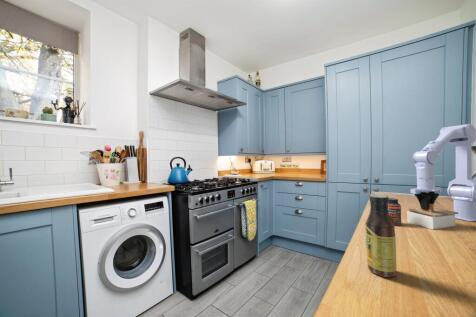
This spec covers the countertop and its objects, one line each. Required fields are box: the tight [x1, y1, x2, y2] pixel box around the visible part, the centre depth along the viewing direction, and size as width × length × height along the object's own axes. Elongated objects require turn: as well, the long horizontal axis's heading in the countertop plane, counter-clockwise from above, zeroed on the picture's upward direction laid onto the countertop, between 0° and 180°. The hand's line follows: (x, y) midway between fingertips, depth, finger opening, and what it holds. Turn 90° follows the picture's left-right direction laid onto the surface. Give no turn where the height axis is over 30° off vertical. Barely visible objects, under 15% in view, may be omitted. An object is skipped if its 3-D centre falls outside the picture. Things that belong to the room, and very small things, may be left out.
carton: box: [406, 210, 456, 230], centre depth 86 cm, size 12×10×5 cm
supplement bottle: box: [388, 197, 402, 227], centre depth 88 cm, size 6×6×11 cm
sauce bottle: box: [365, 193, 398, 278], centre depth 51 cm, size 7×6×20 cm
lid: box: [408, 203, 458, 216], centre depth 86 cm, size 12×10×4 cm
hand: (426, 209), depth 86 cm, fingers closed on lid, 2 cm apart
